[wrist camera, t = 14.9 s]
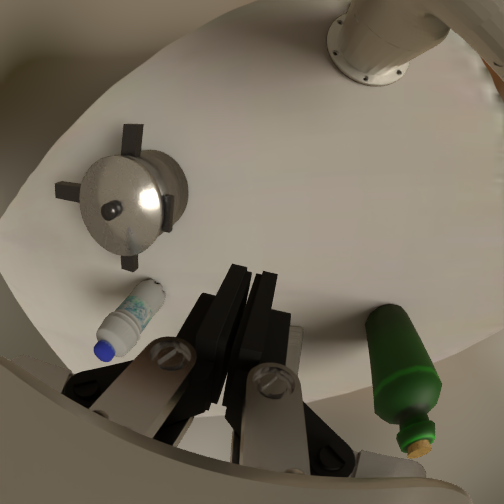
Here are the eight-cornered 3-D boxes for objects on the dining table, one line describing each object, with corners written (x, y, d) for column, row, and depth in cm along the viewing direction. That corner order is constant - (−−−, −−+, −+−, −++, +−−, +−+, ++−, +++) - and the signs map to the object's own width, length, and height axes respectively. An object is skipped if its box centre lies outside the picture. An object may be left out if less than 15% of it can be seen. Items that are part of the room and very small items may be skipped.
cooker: (85, 121, 41) (51, 125, 33) (203, 127, 39) (178, 127, 31) (85, 234, 51) (57, 252, 43) (189, 261, 49) (167, 287, 41)
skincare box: (299, 356, 54) (294, 419, 40) (265, 352, 55) (252, 415, 41) (304, 324, 51) (301, 391, 37) (266, 321, 52) (252, 386, 38)
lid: (83, 152, 34) (70, 155, 31) (167, 160, 33) (156, 163, 30) (86, 241, 40) (74, 249, 38) (162, 263, 39) (152, 273, 36)
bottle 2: (355, 343, 51) (369, 473, 26) (363, 298, 47) (394, 440, 21) (404, 340, 49) (437, 461, 24) (416, 296, 45) (472, 423, 19)
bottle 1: (141, 299, 55) (89, 364, 37) (138, 272, 52) (78, 334, 35) (170, 307, 55) (122, 378, 37) (168, 279, 52) (113, 348, 34)
